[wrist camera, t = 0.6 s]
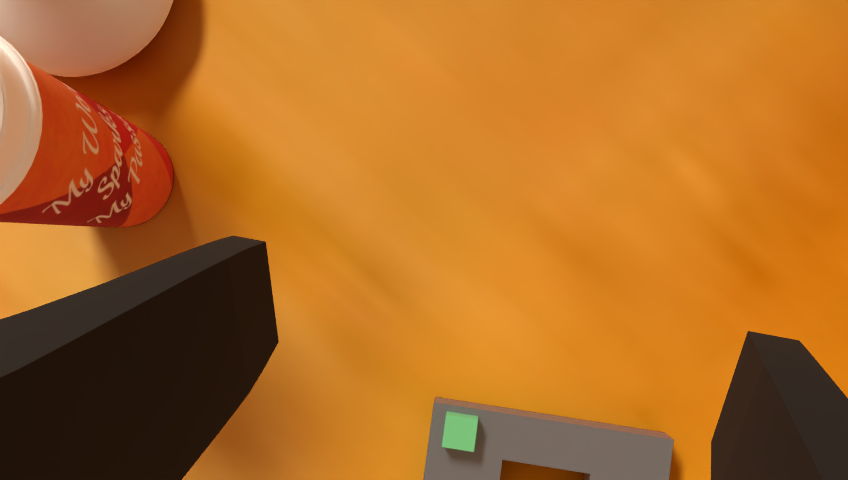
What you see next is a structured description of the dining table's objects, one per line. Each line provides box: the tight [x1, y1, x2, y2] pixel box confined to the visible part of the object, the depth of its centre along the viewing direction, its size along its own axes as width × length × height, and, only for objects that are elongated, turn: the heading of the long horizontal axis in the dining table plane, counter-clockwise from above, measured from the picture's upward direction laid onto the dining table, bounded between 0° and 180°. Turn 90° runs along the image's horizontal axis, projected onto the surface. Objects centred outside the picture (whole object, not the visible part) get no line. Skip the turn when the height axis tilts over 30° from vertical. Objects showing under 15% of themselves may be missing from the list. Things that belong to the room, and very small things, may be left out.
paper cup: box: [0, 36, 174, 227], centre depth 29 cm, size 8×8×14 cm
